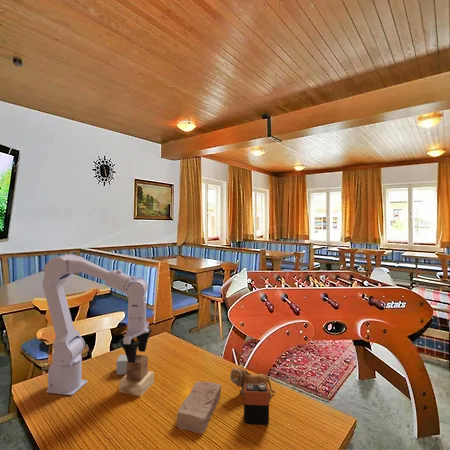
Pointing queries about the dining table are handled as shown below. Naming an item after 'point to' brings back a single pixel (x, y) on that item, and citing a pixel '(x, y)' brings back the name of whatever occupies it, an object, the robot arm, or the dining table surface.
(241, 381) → the lion figurine
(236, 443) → the dining table surface
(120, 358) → the slate block
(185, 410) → the brick
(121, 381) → the base block
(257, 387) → the battery
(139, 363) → the walnut block
